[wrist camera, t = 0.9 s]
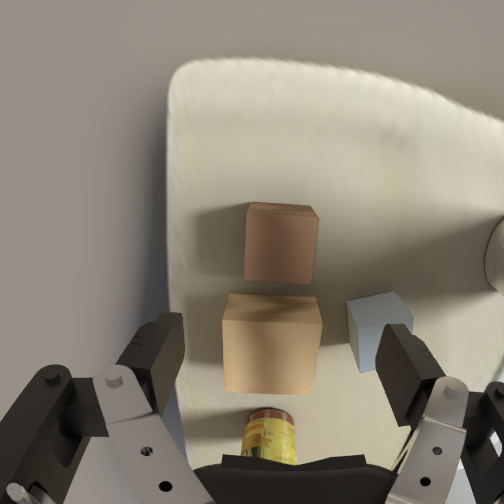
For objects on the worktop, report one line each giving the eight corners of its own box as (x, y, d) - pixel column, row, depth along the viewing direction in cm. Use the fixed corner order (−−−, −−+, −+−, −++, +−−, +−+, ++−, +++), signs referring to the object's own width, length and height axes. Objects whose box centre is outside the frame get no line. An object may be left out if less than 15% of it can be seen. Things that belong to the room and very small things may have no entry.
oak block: (315, 295, 29) (322, 323, 24) (306, 362, 31) (310, 394, 26) (229, 292, 29) (222, 319, 24) (230, 359, 32) (224, 391, 27)
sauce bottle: (253, 400, 33) (238, 558, 14) (303, 411, 33) (312, 562, 14) (238, 431, 35) (219, 567, 16) (283, 440, 35) (281, 573, 17)
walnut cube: (310, 205, 26) (318, 218, 21) (304, 261, 27) (311, 284, 23) (251, 201, 26) (246, 213, 21) (248, 257, 28) (243, 280, 23)
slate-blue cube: (394, 290, 28) (413, 315, 23) (394, 332, 29) (410, 360, 25) (345, 300, 28) (358, 328, 24) (349, 342, 30) (359, 373, 25)
